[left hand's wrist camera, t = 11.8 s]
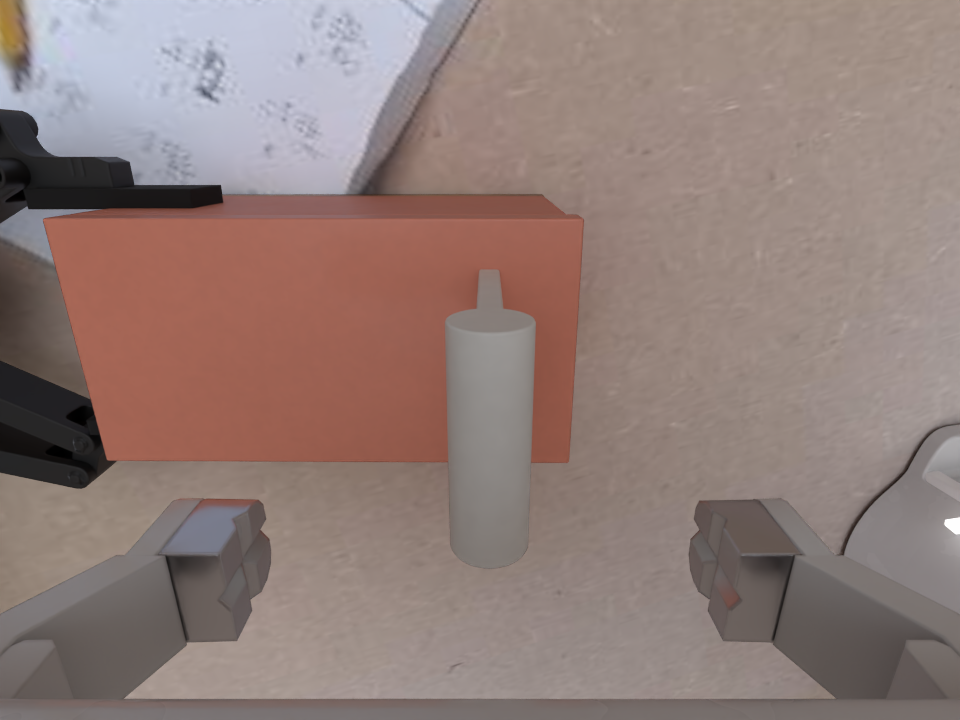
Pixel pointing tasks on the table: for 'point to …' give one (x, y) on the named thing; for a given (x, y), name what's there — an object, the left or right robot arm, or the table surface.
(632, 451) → the table surface
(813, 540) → the left robot arm
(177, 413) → the lid
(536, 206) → the chest
